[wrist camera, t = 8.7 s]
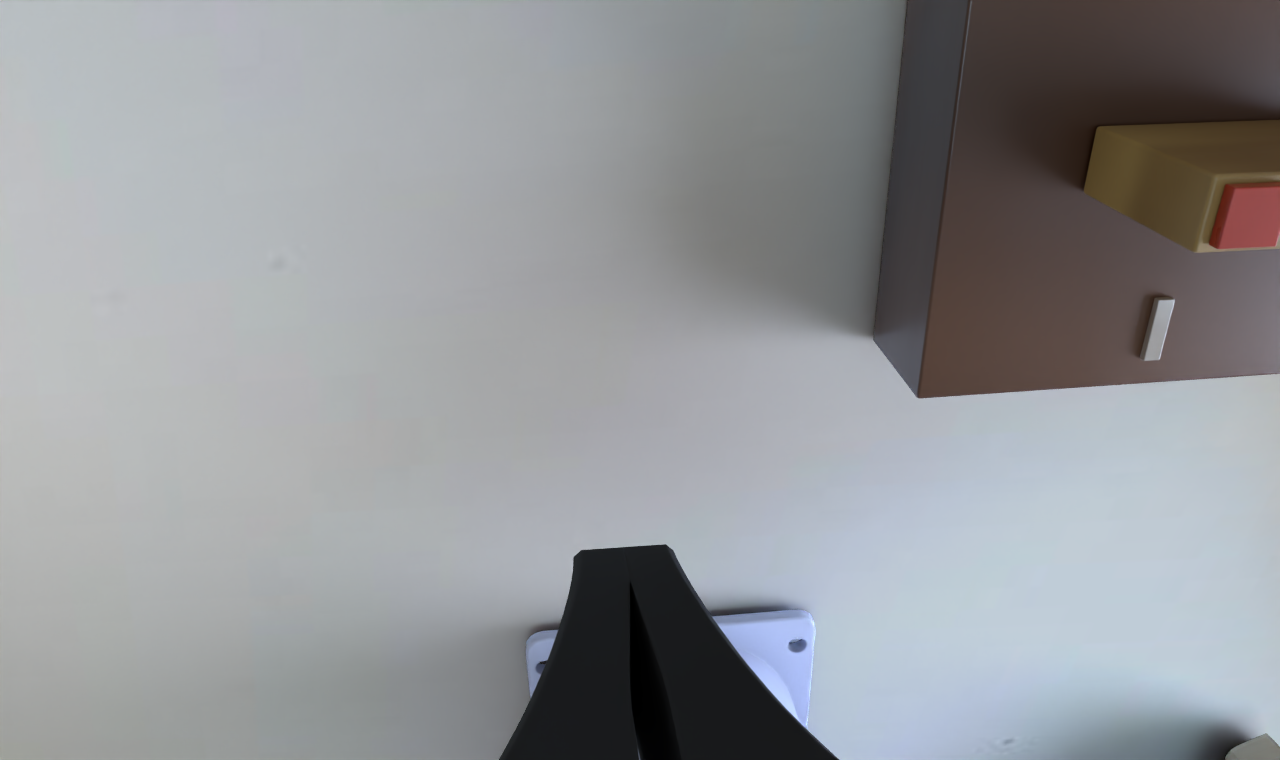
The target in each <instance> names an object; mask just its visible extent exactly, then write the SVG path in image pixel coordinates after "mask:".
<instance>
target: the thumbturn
mask: <svg viewBox="0 0 1280 760" xmlns="http://www.w3.org/2000/svg"><path fill="white" fill-rule="evenodd" d="M1084 193H1085V194H1087V195H1088V196H1090V197H1092V198H1094V199H1096V200H1098V201H1100V202H1101V203H1103V204H1105V205H1107V206H1109V207H1111V208H1112V209H1114V210H1116V211H1118V212H1120V213H1122V214H1123V215H1125V216H1127V217H1129V218H1131V219H1133V220H1135V221H1136V222H1138V223H1140V224H1142V225H1144V226H1146V227H1147V228H1149V229H1151V230H1153V231H1155V232H1157V233H1158V234H1160V235H1162V236H1164V237H1166V238H1168V239H1169V240H1171V241H1173V242H1175V243H1177V244H1179V245H1181V246H1182V247H1184V248H1186V249H1188V250H1190V251H1192V252H1194V253H1203V252H1224V251H1244V250H1265V249H1280V120H1258V121H1230V122H1203V123H1175V124H1148V125H1120V126H1100V127H1097V129H1096V134H1095V138H1094V143H1093V148H1092V153H1091V158H1090V162H1089V167H1088V172H1087V177H1086V182H1085V186H1084Z"/></svg>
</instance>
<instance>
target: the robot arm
mask: <svg viewBox="0 0 1280 760" xmlns="http://www.w3.org/2000/svg"><path fill="white" fill-rule="evenodd" d="M797 638H800V640H799V641H798V642H794V643H790V642H791V641H792V640H793V639H797ZM814 640H815V624H814V621H813V619H812V616H811V615H810V614H809V613H808V612H806V611H804V610H798V609H795V610H783V611H771V612H759V613H748V614H736V615H724V616H713V617H712V616H711V614H710V613H709V611H708V610H707V609H706V607H705V606H704V604H703V602H702V601H701V599H700V598H699V596H698V595H697V593H696V591H695V590H694V588H693V587H692V585H691V583H690V582H689V580H688V578H687V576H686V575H685V573H684V571H683V569H682V567H681V566H680V564H679V562H678V560H677V558H676V556H675V553H674V551H673V550H672V549H671V548H669V547H668V546H667V545H666V544H665V545H651V546H636V547H622V548H607V549H593V550H581V551H580V552H579V553H578V554H577V555H576V556H574V563H573V575H572V581H571V586H570V591H569V595H568V599H567V603H566V606H565V610H564V614H563V617H562V620H561V623H560V626H559V629H558V630H549V631H541V632H537V633H535V634H533V635H531V636H530V637H529V639H528V640H527V642H526V662H527V672H528V681H529V691H530V701H529V704H528V706H527V708H526V710H525V712H524V714H523V716H522V718H521V720H520V722H519V724H518V726H517V728H516V730H515V732H514V733H513V735H512V737H511V739H510V741H509V743H508V744H507V746H506V748H505V750H504V752H503V753H502V755H501V757H500V759H499V760H839V759H838V758H837V757H835V756H834V755H833V754H832V753H831V752H830V751H829V750H828V749H827V748H826V747H825V746H824V745H823V744H822V743H820V742H819V741H818V740H817V739H816V738H815V737H814V736H813V735H812V734H811V733H810V732H809V731H808V730H807V724H808V712H809V700H810V688H811V676H812V664H813V652H814ZM541 661H547V662H546V665H545V664H540V663H539V662H541Z"/></svg>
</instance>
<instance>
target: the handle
mask: <svg viewBox="0 0 1280 760" xmlns="http://www.w3.org/2000/svg"><path fill="white" fill-rule="evenodd" d="M1225 760H1280V747H1279V746H1278V745H1277V743H1276V742H1275V741H1274V740H1273V739H1272V738H1271V737H1270V736H1268V735H1267V734H1264V735H1261V736H1259V737H1256V738H1254V739H1251V740H1249V741H1247V742H1244V743H1242V744H1240V745H1238V746H1236V747H1234V748H1232V749H1231V750H1230V751H1229V752H1228V754H1227V755H1226V758H1225Z"/></svg>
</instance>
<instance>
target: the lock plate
mask: <svg viewBox="0 0 1280 760" xmlns="http://www.w3.org/2000/svg"><path fill="white" fill-rule="evenodd" d="M1258 120H1280V0H908V6H907V16H906V25H905V35H904V45H903V55H902V65H901V74H900V84H899V94H898V104H897V114H896V124H895V133H894V143H893V153H892V163H891V173H890V183H889V192H888V202H887V212H886V222H885V232H884V241H883V251H882V261H881V271H880V281H879V291H878V300H877V310H876V320H875V330H874V342H875V343H876V344H877V346H878V347H879V348H880V349H881V351H882V352H883V353H884V355H885V356H886V357H887V359H888V360H889V361H890V363H891V364H892V365H893V367H894V368H895V369H896V371H897V372H898V373H899V374H900V376H901V377H902V378H903V380H904V381H905V382H906V384H907V385H908V386H909V388H910V389H911V390H912V392H913V393H914V394H915V396H916V397H917V398H932V397H946V396H961V395H975V394H990V393H1004V392H1019V391H1034V390H1048V389H1063V388H1077V387H1092V386H1107V385H1121V384H1136V383H1150V382H1165V381H1180V380H1194V379H1209V378H1223V377H1238V376H1253V375H1267V374H1280V249H1265V250H1244V251H1224V252H1203V253H1194V252H1192V251H1190V250H1188V249H1186V248H1184V247H1182V246H1181V245H1179V244H1177V243H1175V242H1173V241H1171V240H1169V239H1168V238H1166V237H1164V236H1162V235H1160V234H1158V233H1157V232H1155V231H1153V230H1151V229H1149V228H1147V227H1146V226H1144V225H1142V224H1140V223H1138V222H1136V221H1135V220H1133V219H1131V218H1129V217H1127V216H1125V215H1123V214H1122V213H1120V212H1118V211H1116V210H1114V209H1112V208H1111V207H1109V206H1107V205H1105V204H1103V203H1101V202H1100V201H1098V200H1096V199H1094V198H1092V197H1090V196H1088V195H1087V194H1085V193H1084V186H1085V182H1086V177H1087V172H1088V167H1089V162H1090V158H1091V153H1092V148H1093V143H1094V138H1095V134H1096V129H1097V127H1100V126H1120V125H1148V124H1175V123H1203V122H1230V121H1258Z"/></svg>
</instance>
